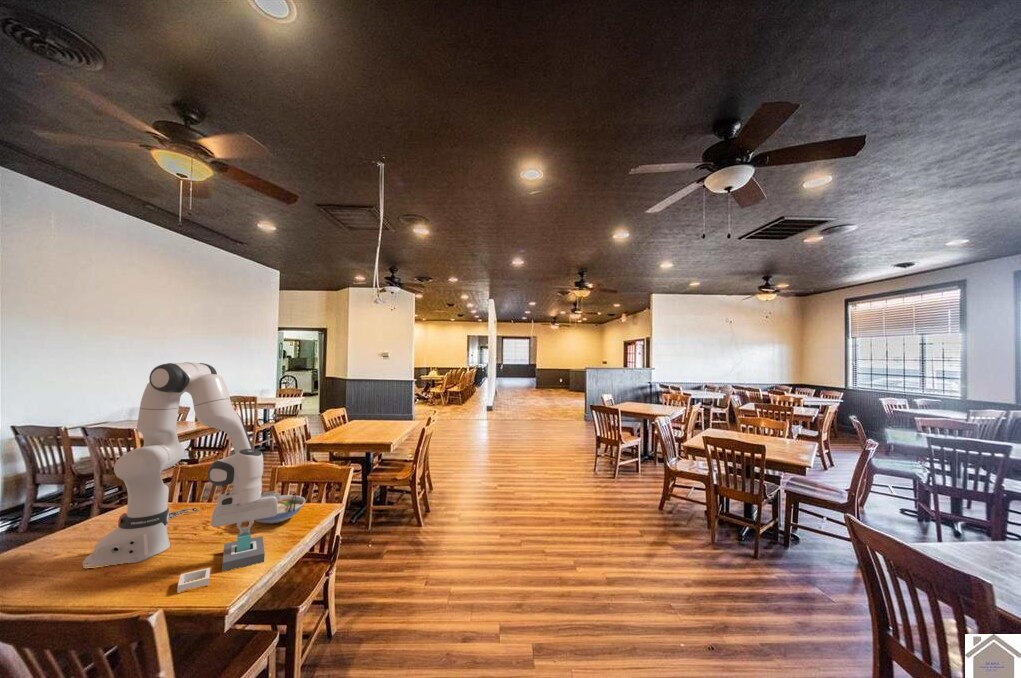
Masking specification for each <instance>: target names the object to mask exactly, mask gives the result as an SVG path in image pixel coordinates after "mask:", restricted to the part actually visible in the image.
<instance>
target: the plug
mask: <svg viewBox="0 0 1021 678" xmlns="http://www.w3.org/2000/svg"><path fill="white" fill-rule="evenodd" d="M236 537H237V539H236V541H237V552H241V551H245V550H250V544H251V538H252V531H251V530H250V531H249V533H246V534H240V533H237V536H236Z"/></svg>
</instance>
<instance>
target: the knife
mask: <svg viewBox="0 0 1021 678" xmlns="http://www.w3.org/2000/svg"><path fill="white" fill-rule="evenodd" d="M191 509H192V511H187V510H191ZM193 509H196V510H193ZM185 511H187V512H185ZM196 511H197V512H199V508H197V507H193V508H184V509H183V508H182V509H179V510H177V511H173V512H169V518H171V519H173V518H172V517H174V516H176V515H179V514H182V513H193V512H195V513H197V512H196ZM178 512H180V513H178ZM193 514H194V513H193ZM179 516H180V515H179ZM176 517H177V516H176ZM174 518H175V517H174Z"/></svg>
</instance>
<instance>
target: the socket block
mask: <svg viewBox="0 0 1021 678" xmlns="http://www.w3.org/2000/svg"><path fill="white" fill-rule="evenodd" d="M263 537H264V536H263V535H261V536H256V537H255V536H254V537H251V544H250V550H245V551H241V552H237V540H236V541H232V542H231V541H230V542H227V543H224V544H223V556H222V567H221V569H222V570H221V572H222V571H224V572H226V571H225V570H228V571H231V569H233V570H235V569H234V568H237V569H240V568H239V567H241V568H245V567H249V566H253V565H252V564H254V565H256V563H258V564H262V563H265V554H266V553H265V552H266V551H265V546H264V538H263ZM261 562H262V563H261ZM248 565H249V566H248ZM244 566H245V567H244Z"/></svg>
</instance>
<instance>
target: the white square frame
mask: <svg viewBox="0 0 1021 678" xmlns="http://www.w3.org/2000/svg"><path fill="white" fill-rule="evenodd" d="M210 575H211V567H207V568H202V569H201V568H200V569H199V570H193V571H189V572H185V573H184V572H183V573H181V574H180V576H179V580H178V584H177V591H176V594H177V593H178V592H181V591H183V590H186V589H191V588H196V587H200V586H205V585H208V586H209V584H210ZM202 577H205V578H202ZM198 578H202V579H198ZM195 579H197V580H195ZM191 580H193V581H191ZM187 581H189V582H187ZM184 582H185V583H184Z"/></svg>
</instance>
